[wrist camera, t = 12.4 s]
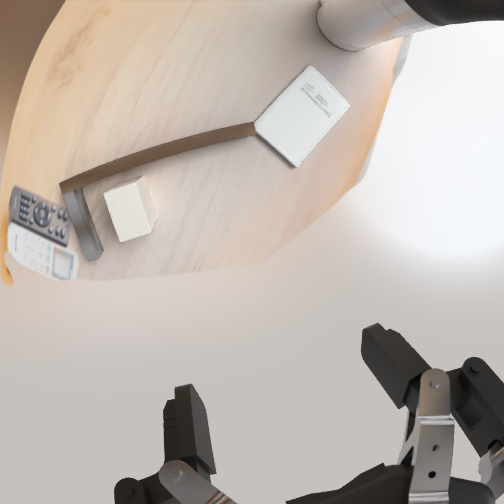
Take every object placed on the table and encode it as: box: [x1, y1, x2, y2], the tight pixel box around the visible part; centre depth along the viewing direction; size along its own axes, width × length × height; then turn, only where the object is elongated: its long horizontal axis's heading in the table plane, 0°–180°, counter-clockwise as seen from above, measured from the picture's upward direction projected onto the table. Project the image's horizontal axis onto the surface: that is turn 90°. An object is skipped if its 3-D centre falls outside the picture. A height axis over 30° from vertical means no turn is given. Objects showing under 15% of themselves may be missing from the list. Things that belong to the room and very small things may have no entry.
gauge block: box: [103, 175, 157, 242], centre depth 31 cm, size 6×4×6 cm, turn 12°
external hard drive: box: [254, 65, 350, 168], centre depth 34 cm, size 2×8×12 cm
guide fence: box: [59, 122, 257, 262], centre depth 33 cm, size 11×25×3 cm, turn 102°
